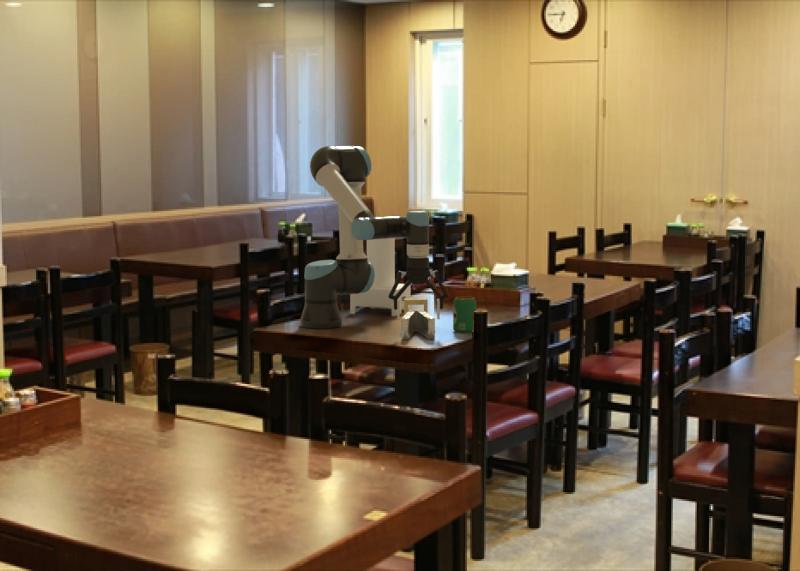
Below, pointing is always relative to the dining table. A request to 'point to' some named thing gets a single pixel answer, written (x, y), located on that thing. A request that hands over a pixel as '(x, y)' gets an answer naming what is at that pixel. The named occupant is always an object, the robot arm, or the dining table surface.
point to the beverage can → (463, 314)
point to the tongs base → (415, 317)
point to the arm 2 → (426, 324)
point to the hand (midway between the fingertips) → (418, 319)
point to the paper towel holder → (380, 278)
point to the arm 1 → (408, 324)
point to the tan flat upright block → (415, 302)
